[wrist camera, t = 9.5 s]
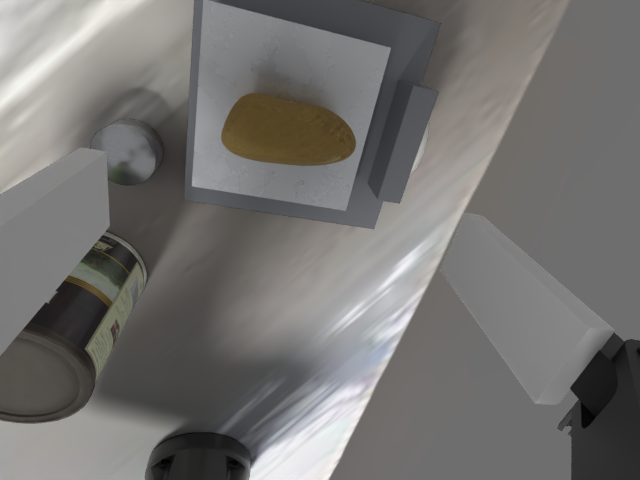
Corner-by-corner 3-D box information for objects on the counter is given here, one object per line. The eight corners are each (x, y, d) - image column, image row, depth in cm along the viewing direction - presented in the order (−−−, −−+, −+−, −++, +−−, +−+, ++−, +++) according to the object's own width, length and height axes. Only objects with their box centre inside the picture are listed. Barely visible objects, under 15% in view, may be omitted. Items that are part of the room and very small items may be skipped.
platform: (343, 206, 33) (345, 210, 32) (193, 181, 31) (191, 186, 30) (387, 47, 27) (391, 47, 26) (205, 0, 25) (203, -2, 24)
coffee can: (17, 240, 36) (-113, 347, 24) (119, 216, 36) (40, 310, 24) (74, 318, 41) (-9, 437, 29) (163, 296, 41) (117, 407, 29)
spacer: (163, 177, 35) (154, 189, 32) (105, 168, 34) (92, 180, 31) (164, 124, 33) (155, 132, 30) (103, 113, 32) (87, 120, 29)
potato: (214, 112, 27) (194, 140, 20) (298, 47, 26) (308, 53, 19) (272, 185, 30) (271, 230, 24) (350, 131, 29) (374, 162, 22)
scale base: (373, 217, 39) (391, 249, 33) (190, 187, 35) (173, 219, 30) (434, 26, 31) (472, 24, 25) (203, -39, 27) (184, -58, 21)
